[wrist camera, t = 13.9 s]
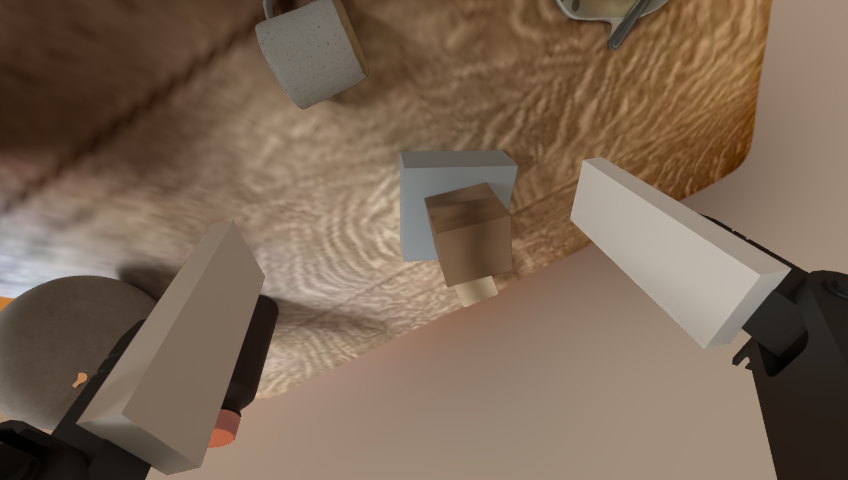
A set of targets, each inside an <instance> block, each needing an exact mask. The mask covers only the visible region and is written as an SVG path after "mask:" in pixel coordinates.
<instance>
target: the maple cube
mask: <svg viewBox="0 0 848 480" xmlns="http://www.w3.org/2000/svg"><path fill="white" fill-rule="evenodd" d="M454 288H455V290H456V292H457V294H458V296H459V298H460V300H461V302H462V304H463V306H464V307H467V306H469V305H471V304H474V303H477V302H479V301H482V300H484V299H487V298H489V297H492V296H494V295H497V294H498V292H497V289H496V286H495V284H494V281H493V278H492V276H489V277H485V278H481V279H478V280H474V281H470V282H466V283H462V284H458V285H454Z"/></svg>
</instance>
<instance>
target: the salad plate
mask: <svg viewBox="0 0 848 480" xmlns="http://www.w3.org/2000/svg"><path fill="white" fill-rule="evenodd" d="M667 1H668V0H555V2H556V4H557V6H558V7H559V9H560V10H561V11H562V13H563V15H564V16H565V17H566V18H569V19H573V20H585V21H594V20H595V21H599V20H602V21H606V22H609V23H611V25H612V29H611V33H610V36H609V38H608V42H607V45H608V48H610V49H611V50H616V49H617V48H618V47H619V46H620V45H621V44H622V42H623V41H624V39H625V38H626V36H627V35H628V33H629V32H630V30H631V29H632V27H633V26H634V24H635V23H636V21H637V20H638V18H640V17H642V16H644V15H647V14H649V13H651V12H653V11H655V10H657V9H658V8H660V7H661V6H662V5H663V4H665V3H666V2H667Z"/></svg>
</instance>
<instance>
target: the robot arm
mask: <svg viewBox="0 0 848 480" xmlns="http://www.w3.org/2000/svg"><path fill="white" fill-rule="evenodd" d="M570 220H571V221H572V222H573V223H574V224H575V225H576V226H577V227H578V228H579V229H580V230H582V231H583V232H584V233H585V234H586V235H587V236H588V237H589V238H590V239H591V240H592V241H593V242H594V243H595V244H596V245H597V246H598V247H599V248H600V249H601V250H602V251H603V252H604V253H605V254H606V255H607V256H608V257H609V258H611V259H612V260H613V261H614V262H615V263H616V264H617V265H618V266H619V267H620V268H621V269H622V270H623V271H624V272H625V273H626V274H627V275H628V276H629V277H630V278H631V279H632V280H633V281H634V282H635V283H636V284H637V285H639V287H641V288H642V289H643V290H644V291H645V292H646V293H647V294H648V295H649V296H650V297H651V298H652V299H653V300H654V301H655V302H656V303H657V304H658V305H659V306H660V307H661V308H662V309H663V310H664V311H665V312H667V313H668V315H670V316H671V317H672V318H673V319H674V320H675V321H676V322H677V323H678V324H679V325H680V326H681V327H682V328H683V329H684V330H685V331H686V332H687V333H688V334H689V335H690V336H691V337H692V338H694V340H696V342H697V343H699V344H700V345H701V346H702V347H703V348H704V349H706V348H711V347H715V346H719V345H724V344H727V343H730V342H731V341H732V340H733V338H734V337H735V336H736V335H737V334H738V332H739V331H740V330H741V329H743V330H744V331H746V332H747V333H748V334H750V335H751V336H752V337H751V338H750V340H749V341H748V342H747V343H746V344H745V345H744V346H743V347H742V348H741V350H740V351H739V352H738V353H737V354H736V355H735V356H734V357H733V361H732V364H733V365H736V366H737V365H739V364H740V363H741V361H742V360H743V359H744V358H745V357H749V360H750V362H749V363H748V364H747V366H746V367H745V368H746V369H749V370H752V373H753V377H754V381H755V386H756V390H757V394H758V399H759V402H760V407H761V411H762V415H763V420H764V424H765V429H766V433H767V437H768V441H769V445H770V450H771V454H772V458H773V463H774V467H775V471H776V476H777V480H848V275H847V274H843V273H839V272H833V271H825V270H821V271H812V272H811V273H808V272H806V271H804V270H802V269H800V268H799V267H797V266H795V265H794V264H792V263H790V262H788V261H786V260H785V259H783V258H781V257H779V256H778V255H776V254H774V253H773V252H771V251H769V250H767V249H766V248H764V247H762V246H761V245H759V244H757V243H755V242H753V241H752V240H750V239H749V240H747V239H746V237H745V236H743V235H741V234H740V233H738V232H736V231H732V229H731V228H729V227H727V226H726V225H724V224H722V223H721V222H719V221H717V220H715V219H713V218H710V217H708V216H704V215H702V214H699V213H696V212H695V211H693V210H691V209H689V208H688V207H686V206H684V205H683V204H681V203H679V202H678V201H676V200H674V199H672V198H671V197H669V196H667V195H666V194H664V193H662V192H661V191H659V190H657V189H655V188H654V187H652V186H650V185H649V184H647V183H645V182H644V181H642V180H640V179H638V178H637V177H635V176H633V175H632V174H630V173H628V172H627V171H625V170H623V169H621V168H620V167H618V166H616V165H615V164H613V163H611V162H610V161H608V160H606V159H604V158H603V157H598V158H592V159H586V160H583V163H582V168H581V172H580V177H579V181H578V185H577V190H576V194H575V199H574V203H573V208H572V212H571V217H570ZM264 279H265V276H264V274H263V272H262V270H261V268H260V267H259V265H258V263H257V261H256V260H255V258H254V256H253V254H252V252H251V251H250V249H249V247H248V245H247V244H246V242H245V240H244V238H243V236H242V235H241V233H240V231H239V229H238V227H237V226H236V224H235V222H234V220H232V221H227V222H221V223H215V224H211V225H210V226H209V228H208V229H207V231H206V232H205V234H204V235H203V237H202V238H201V240H200V241H199V243H198V244H197V245H196V247H195V248H194V250H193V251H192V253H191V254H190V256H189V257H188V259H187V260H186V262H185V263H184V265H183V266H182V268H181V269H180V271H179V272H178V274H177V275H176V277H175V278H174V279H173V281H172V282H171V284H170V285H169V287H168V288H167V290H166V291H165V293H164V294H163V296H162V297H161V299H160V300H159V302H158V303H157V305H156V306H155V308H154V309H153V311H152V312H151V313H150V315H149V316H148V318H147V319H142V320H139V321H138V322H137V323H136V324H135V325H134V326H133V327H132V328H130V329H129V330H128V331H127V332H126V333H125V334H124V335H123V336H122V337H121V338H120V339H119V340H118V342H117V343H116V345H115V346H114V347H113V349H112V350H111V352H110V353H109V354H108V359H105V360H104V361H103V363H102V364H101V365H100V367H99V368H98V370H97V374H96V375H93V377H92V378H91V379H90V381H89V382H88V384H87V385H86V386H85V388H84V389H83V391H82V392H81V393H80V395H79V396H78V397H77V399H76V400H75V402H74V403H73V404H72V406H71V407H70V409H69V410H68V411H67V413H66V414H65V416H64V417H63V418H62V420H61V421H60V423H59V424H58V425H57V427H56V428H55V429H54V431H53V432H52V434H51V435H49V434H47V433H45V432H43V431H41V430H39V429H37V428H35V427H33V426H31V425H30V424H28V423H26V422H24V421H18V420H9V421H6V422H2V423H0V480H145V479H146V476H147V474H148V472H149V470H150V467H153V468H155V469H157V470H159V471H160V472H162V473H164V474H166V475H170V474H174V473H178V472H182V471H186V470H191V469H195V468H199V467H201V465H202V462H203V459H204V456H205V453H206V450H207V448H208V445H209V442H210V439H211V436H212V433H213V430H214V427H215V424H216V421H217V418H218V415H219V412H220V409H221V406H222V403H223V400H224V397H225V394H226V391H227V388H228V385H229V382H230V379H231V377H232V374H233V371H234V368H235V365H236V362H237V359H238V356H239V353H240V350H241V347H242V344H243V341H244V338H245V335H246V332H247V329H248V326H249V323H250V320H251V317H252V314H253V311H254V308H255V305H256V303H257V300H258V297H259V294H260V291H261V288H262V285H263V282H264Z"/></svg>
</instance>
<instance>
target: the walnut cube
mask: <svg viewBox="0 0 848 480" xmlns="http://www.w3.org/2000/svg"><path fill="white" fill-rule="evenodd" d="M424 201H425V205H426V210H427V214H428V219H429V223H430V228H431V232H432V237H433V241H434V246H435V249H436V252H437V256H438V259H439V262H440V265H441V268H442V271H443V275H444V278H445V281H446V284H447V287H451V286H454V285H458V284H462V283H466V282H470V281H474V280H478V279H481V278H485V277H489V276H493V275H497V274H501V273H505V272H508V271H512V240H511V215H510V213H509V212H508V211H507V209H506V208H505V207H504V205H503V204H502V203H501V201H500V200H499V199H498V197H497V196H496V195H495V193H494V192H493V191H492V189H491V188H490V187H489V185H488V184H487V183H486V182H485V183H481V184H477V185H473V186H469V187H465V188H461V189H457V190H453V191H449V192H446V193H442V194H438V195H434V196H430V197H426V198H424Z"/></svg>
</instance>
